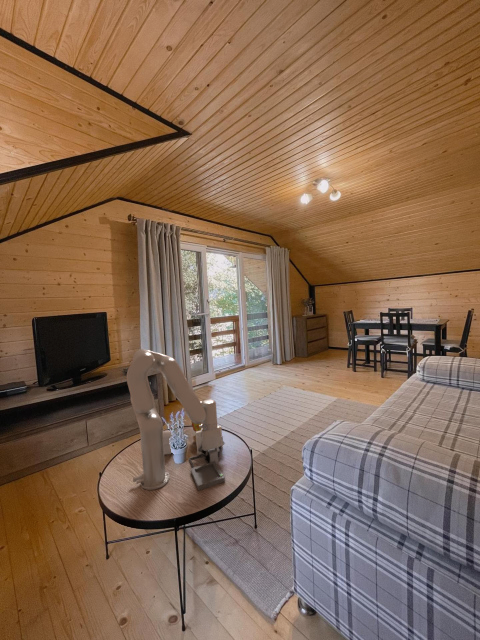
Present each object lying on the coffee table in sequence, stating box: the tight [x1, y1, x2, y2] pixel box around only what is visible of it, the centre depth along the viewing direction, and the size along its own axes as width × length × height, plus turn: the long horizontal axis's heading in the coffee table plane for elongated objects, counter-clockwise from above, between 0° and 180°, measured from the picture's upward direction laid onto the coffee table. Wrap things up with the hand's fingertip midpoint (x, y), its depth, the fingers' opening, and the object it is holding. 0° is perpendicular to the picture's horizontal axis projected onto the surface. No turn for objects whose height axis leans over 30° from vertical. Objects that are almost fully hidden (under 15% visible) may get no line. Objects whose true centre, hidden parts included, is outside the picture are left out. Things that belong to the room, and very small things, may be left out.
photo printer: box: [163, 430, 172, 456], centre depth 146 cm, size 10×4×12 cm, turn 98°
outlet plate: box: [195, 425, 224, 456], centre depth 144 cm, size 14×6×12 cm, turn 114°
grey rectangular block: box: [208, 448, 219, 465], centre depth 136 cm, size 4×7×6 cm, turn 24°
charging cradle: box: [190, 461, 226, 491], centre depth 124 cm, size 12×14×2 cm
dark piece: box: [188, 454, 205, 468], centre depth 137 cm, size 16×11×4 cm
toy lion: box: [190, 420, 202, 443], centre depth 155 cm, size 16×5×15 cm, turn 50°
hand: (212, 459), depth 136 cm, fingers closed on grey rectangular block, 4 cm apart
